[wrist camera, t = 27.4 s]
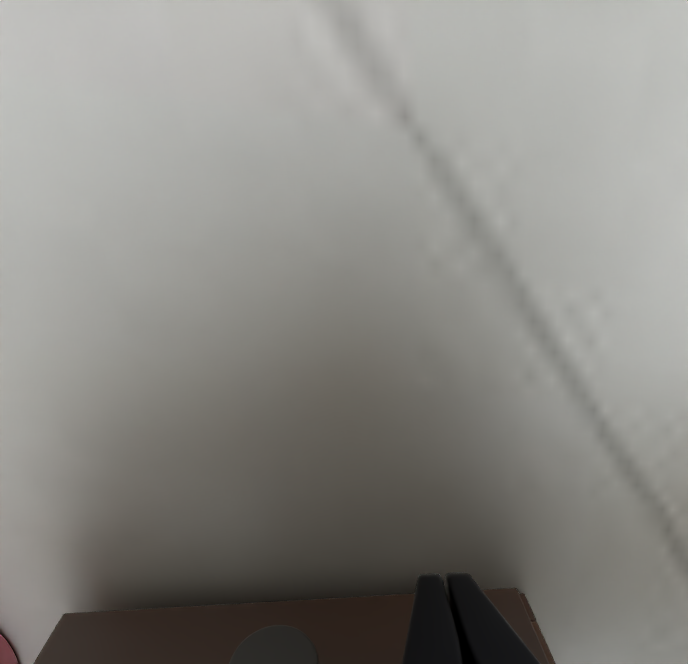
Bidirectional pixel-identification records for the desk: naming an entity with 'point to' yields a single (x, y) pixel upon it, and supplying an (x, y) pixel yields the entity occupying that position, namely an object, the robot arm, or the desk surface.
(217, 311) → the desk surface
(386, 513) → the desk surface
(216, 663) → the drawer
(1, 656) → the lotion bottle
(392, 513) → the desk surface
